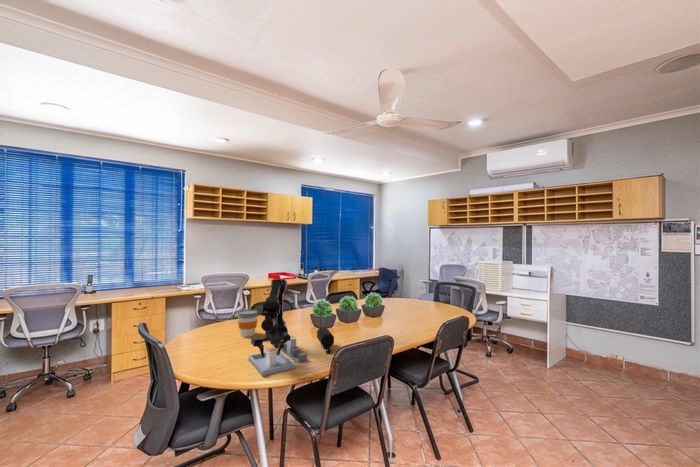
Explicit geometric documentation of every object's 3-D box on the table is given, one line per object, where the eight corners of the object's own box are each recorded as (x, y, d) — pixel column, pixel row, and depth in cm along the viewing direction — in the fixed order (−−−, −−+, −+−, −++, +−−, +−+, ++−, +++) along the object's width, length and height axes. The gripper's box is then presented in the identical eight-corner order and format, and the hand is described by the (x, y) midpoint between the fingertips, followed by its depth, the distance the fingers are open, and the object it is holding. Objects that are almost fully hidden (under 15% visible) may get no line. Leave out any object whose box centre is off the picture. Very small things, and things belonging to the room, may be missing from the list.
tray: (248, 360, 169) (248, 355, 169) (278, 354, 177) (278, 349, 177) (262, 376, 149) (262, 371, 149) (294, 369, 158) (294, 364, 158)
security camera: (322, 355, 177) (323, 336, 177) (316, 344, 194) (316, 327, 194) (335, 354, 179) (335, 336, 179) (327, 343, 196) (328, 326, 196)
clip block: (281, 351, 182) (281, 344, 182) (294, 348, 186) (294, 341, 186) (295, 364, 164) (295, 356, 164) (310, 361, 168) (310, 353, 168)
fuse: (286, 350, 181) (286, 336, 181) (291, 349, 183) (292, 335, 183) (290, 354, 176) (290, 339, 176) (296, 353, 178) (296, 338, 178)
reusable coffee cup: (260, 332, 217) (260, 309, 217) (253, 338, 204) (253, 314, 204) (242, 331, 218) (242, 309, 218) (234, 337, 206) (234, 313, 206)
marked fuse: (265, 362, 165) (265, 346, 165) (272, 360, 167) (272, 345, 167) (269, 366, 160) (269, 349, 160) (276, 364, 162) (276, 348, 162)
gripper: (257, 332, 151) (257, 365, 151) (294, 326, 161) (294, 357, 161) (251, 326, 161) (250, 357, 161) (286, 321, 171) (286, 350, 171)
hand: (270, 356), depth 163 cm, fingers open, 8 cm apart
